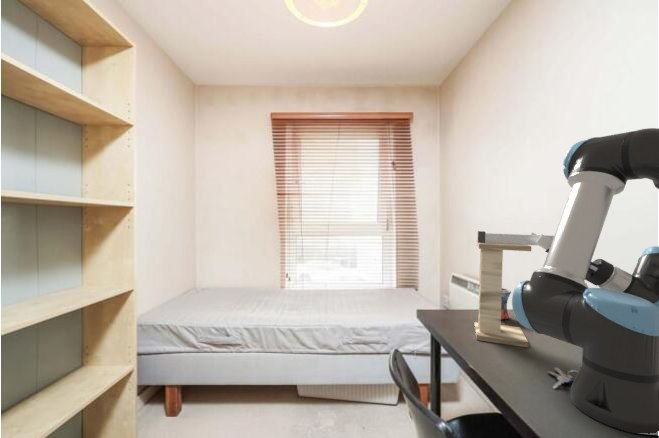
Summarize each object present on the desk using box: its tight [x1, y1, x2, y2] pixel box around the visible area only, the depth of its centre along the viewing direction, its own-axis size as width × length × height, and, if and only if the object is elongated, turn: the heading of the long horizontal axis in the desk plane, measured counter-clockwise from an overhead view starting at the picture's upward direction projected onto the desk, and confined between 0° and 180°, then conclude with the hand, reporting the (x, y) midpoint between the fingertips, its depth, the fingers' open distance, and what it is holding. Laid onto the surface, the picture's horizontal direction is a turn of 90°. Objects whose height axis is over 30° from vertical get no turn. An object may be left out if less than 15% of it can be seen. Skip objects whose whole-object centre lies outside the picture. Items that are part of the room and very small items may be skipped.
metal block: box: [477, 230, 555, 247], centre depth 104 cm, size 22×4×4 cm, turn 69°
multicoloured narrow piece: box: [501, 287, 512, 320], centre depth 126 cm, size 12×9×11 cm
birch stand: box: [473, 240, 532, 348], centre depth 105 cm, size 14×14×30 cm
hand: (534, 236), depth 102 cm, fingers open, 13 cm apart
